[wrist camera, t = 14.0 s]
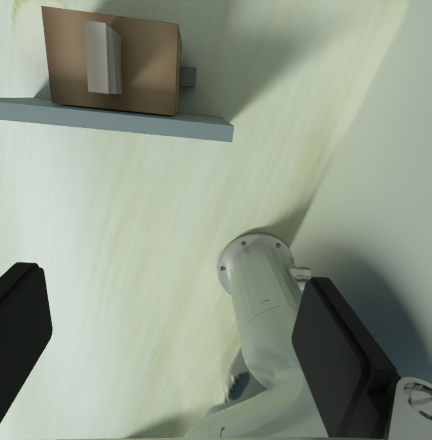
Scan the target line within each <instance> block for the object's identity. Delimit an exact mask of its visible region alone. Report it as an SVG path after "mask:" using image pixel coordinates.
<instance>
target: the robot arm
mask: <svg viewBox="0 0 432 440" xmlns="http://www.w3.org/2000/svg"><path fill="white" fill-rule="evenodd" d="M242 241H244V242H242ZM277 243H278V244H277ZM222 266H223V267H222ZM296 275H300V276H310V275H311V269H310V268H305V267H301V268H299V267H296V266H294V259H293V256H292V253H291V251H290V250H289V248H288V247H287V245H286V244H285V243H284V242H283V241H281V240H280V239H279V238H277V237H275V236H273V235H269V234H265V233H253V234H248V235H244V236H242V237H240V238H238V239H236V240H234V241H233V242H231V243H230V244H229V245H228V246H227V247H226V248H225V249H224V251H223V252H222V254H221V256H220V258H219V261H218V277H219V281H220V283H221V285H222V287H223V288H224V289H225V290H226V291H227V292H228V293H229V294H230V295H231V296H232V301H233V306H234V312H235V317H236V322H237V328H238V333H239V338H240V344H241V349H242V354H243V357H244V361H245V363H246V365H247V367H248V369H249V370H250V372H251V373H252V375H253V376H254V377H255V378H256V379H257V380H258V381H259V382H260V383H261V384H262V385H264V386H265V387H266V388H268V390H266V391H265V392H262V393H260V394H258V395H257V396H255V397H253V398H251V399H248V400H246V401H243V402H241V403H239V404H236V405H234V406H232V407H229V408H227V409H224V410H222V411H219V412H217V413H215V414H212V415H210V416H208V417H206V418H204V419H202V420H200V421H199V422H197V423H196V424H194V425H193V426H192V427H191V428H190V429H189V430H188V431H187V433H186V434H185V436H184V438H124V439H58V440H432V385H431V384H429V383H427V382H425V381H423V380H420V379H417V378H412V377H408V378H402V379H401V377H400V376H399V375H398V374H397V372H396V368H395V366H394V365H393V364H392V363H391V361H390V360H389V358H388V357H387V356H386V354H385V353H384V351H383V350H382V349H381V347H380V346H379V345H378V343H377V342H376V341H375V339H374V338H373V337H372V335H371V334H370V333H369V331H368V330H367V329H366V327H365V326H364V325H363V323H362V322H361V321H360V319H359V318H358V317H357V315H356V314H355V313H354V311H353V310H352V308H351V307H350V306H349V304H348V303H347V302H346V300H345V299H344V298H343V296H342V295H341V294H340V292H339V291H338V290H337V288H336V287H335V286H334V284H333V283H332V281H331V280H330V279H329V278H326V277H312V278H311V279H296V278H295V276H296ZM301 290H302V291H303V293H302V291H301ZM51 336H52V322H51V315H50V308H49V302H48V295H47V288H46V281H45V275H44V270H43V268H39V266H38V264H36V263H23V262H18V263H15V264H14V265H13V266H12V267H11V268H10V269H9V270H8V271H7V272H5V273H4V274H3V275H2V276H1V277H0V423H1V421H2V420H3V418H4V416H5V415H6V413H7V411H8V409H9V408H10V406H11V404H12V403H13V401H14V399H15V398H16V396H17V394H18V393H19V391H20V389H21V388H22V386H23V384H24V383H25V381H26V379H27V377H28V376H29V374H30V372H31V371H32V369H33V367H34V366H35V364H36V362H37V361H38V359H39V357H40V356H41V354H42V352H43V351H44V349H45V347H46V346H47V344H48V342H49V340H50V338H51Z"/></svg>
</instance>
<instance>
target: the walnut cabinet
mask: <svg viewBox="0 0 432 440" xmlns="http://www.w3.org/2000/svg"><path fill="white" fill-rule="evenodd" d="M41 7H42V16H43V26H44V35H45V44H46V53H47V62H48V71H49V80H50V89H51V98H52V103H55V104H65V105H75V106H85V107H95V108H105V109H115V110H125V111H135V112H145V113H154V114H164V115H175V114H176V113H177V112H178V110H179V93H178V92H179V71H180V62H181V50H182V42H181V35H180V31H179V26H178V24H173V23H166V22H158V21H151V20H143V19H136V18H128V17H121V16H113V15H105V14H98V13H90V12H83V11H75V10H68V9H60V8H53V7H45V6H41Z"/></svg>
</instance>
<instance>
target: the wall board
mask: <svg viewBox="0 0 432 440" xmlns="http://www.w3.org/2000/svg"><path fill="white" fill-rule="evenodd" d="M0 120H9V121H20V122H30V123H40V124H51V125H61V126H71V127H82V128H92V129H102V130H113V131H123V132H133V133H144V134H154V135H164V136H174V137H185V138H195V139H205V140H216V141H226V142H232V138H233V130H234V126H233V125H232V124H230V123H229V122H228V121H226V120H225V119H224V118H221V117H211V116H202V115H192V114H183V113H176V114H175V115H164V114H154V113H145V112H135V111H125V110H115V109H105V108H95V107H85V106H75V105H65V104H55V103H52V100H50V99H40V98H0Z"/></svg>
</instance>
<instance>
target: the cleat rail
mask: <svg viewBox="0 0 432 440" xmlns="http://www.w3.org/2000/svg"><path fill="white" fill-rule="evenodd" d="M195 75H196V68H189V67H181V66H180V71H179V86H188V87H195Z"/></svg>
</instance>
